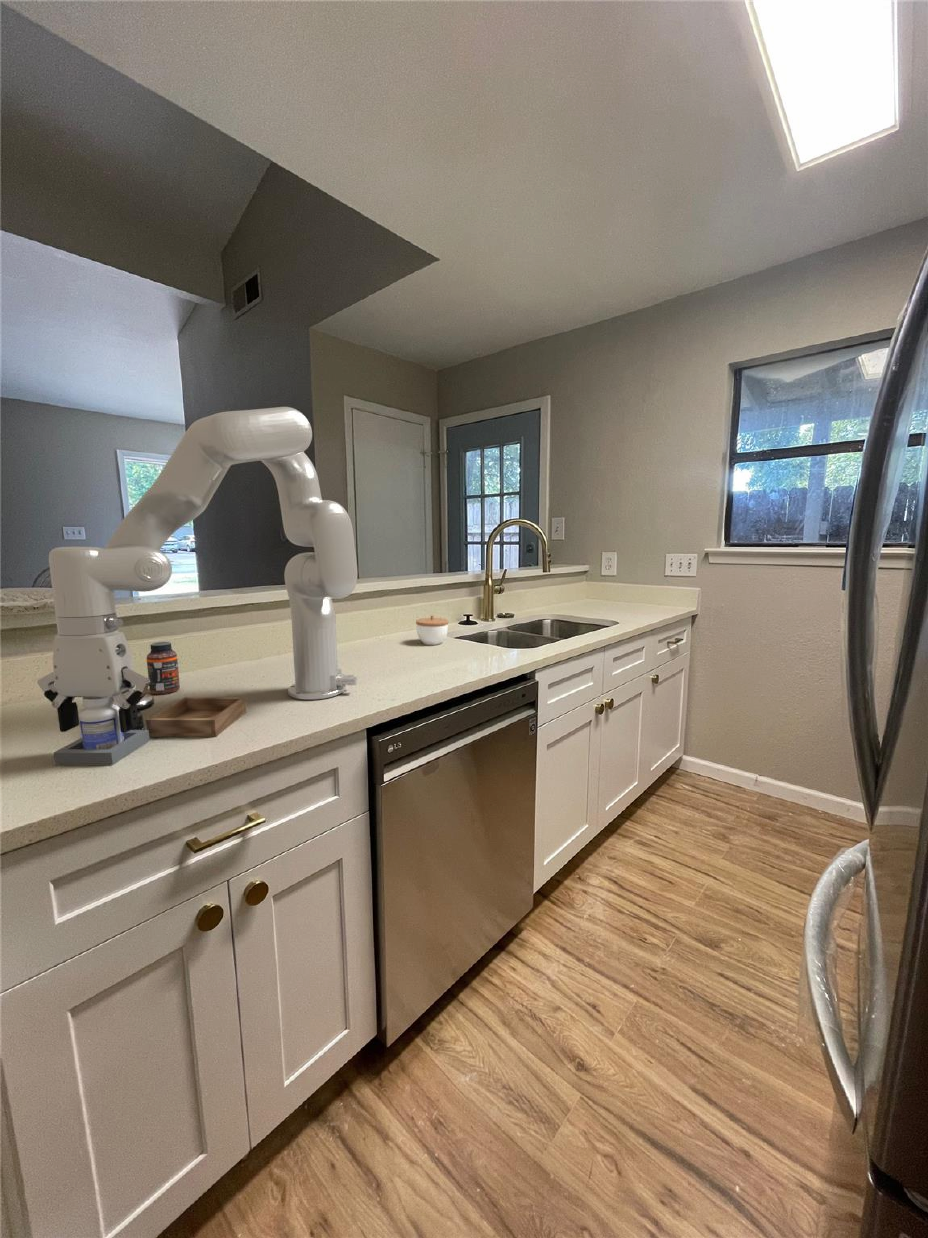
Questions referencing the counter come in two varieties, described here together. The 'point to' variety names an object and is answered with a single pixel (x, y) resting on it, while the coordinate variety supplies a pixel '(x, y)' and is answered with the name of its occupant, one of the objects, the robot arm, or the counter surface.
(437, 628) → the lidded jar
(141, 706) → the metal mushroom knob
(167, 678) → the supplement bottle
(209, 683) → the counter surface
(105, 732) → the pill bottle
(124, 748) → the socket collar
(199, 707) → the tray
